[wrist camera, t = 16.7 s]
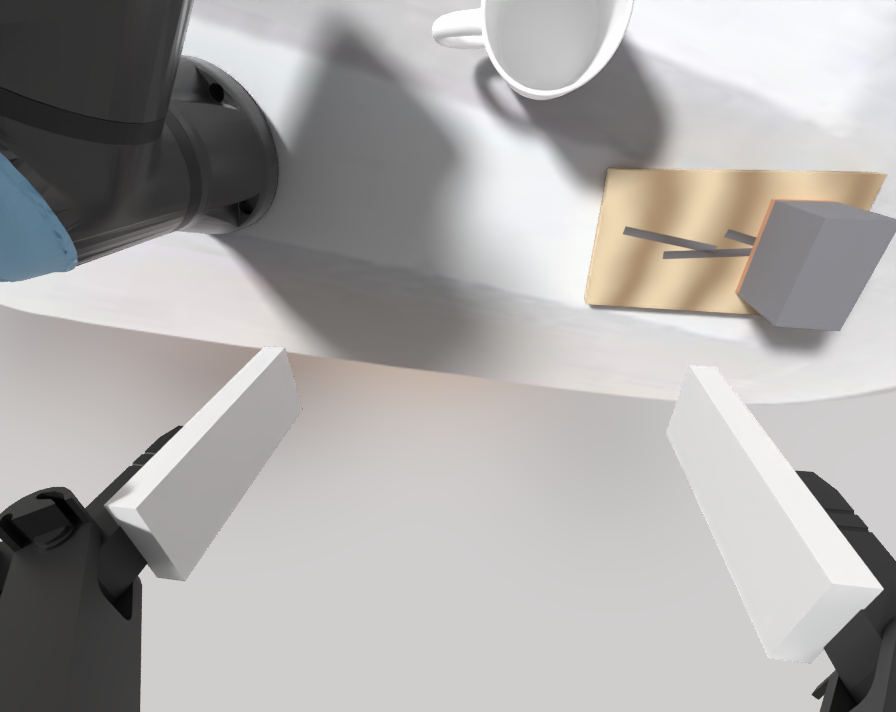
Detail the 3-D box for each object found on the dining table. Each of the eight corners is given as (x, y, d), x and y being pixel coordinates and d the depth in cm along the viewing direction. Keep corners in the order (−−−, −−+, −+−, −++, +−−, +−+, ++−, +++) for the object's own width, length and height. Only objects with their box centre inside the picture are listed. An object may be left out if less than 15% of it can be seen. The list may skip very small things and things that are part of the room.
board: (584, 298, 41) (585, 304, 40) (607, 167, 35) (610, 170, 33) (804, 311, 38) (813, 318, 37) (872, 171, 32) (887, 174, 31)
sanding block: (735, 292, 37) (774, 326, 31) (771, 198, 33) (825, 218, 27) (788, 295, 36) (839, 331, 30) (832, 200, 32) (902, 220, 26)
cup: (597, 96, 32) (621, 91, 24) (449, 106, 34) (423, 105, 26) (612, -45, 28) (650, -113, 20) (443, -24, 30) (410, -77, 22)
